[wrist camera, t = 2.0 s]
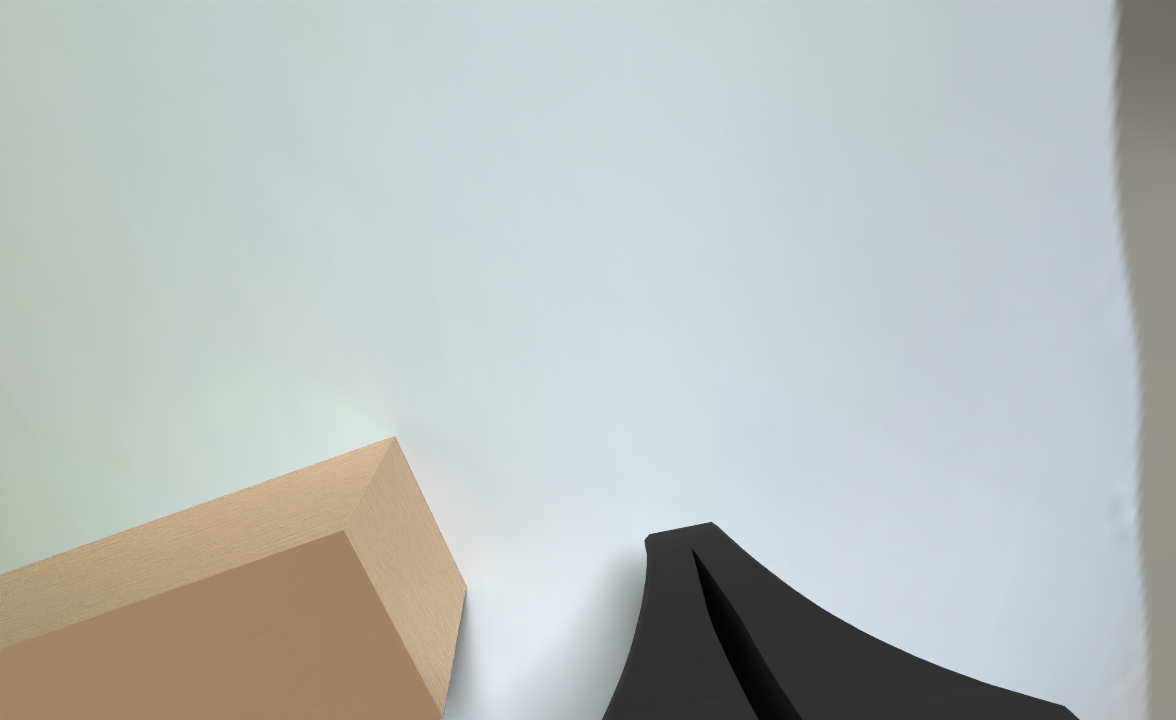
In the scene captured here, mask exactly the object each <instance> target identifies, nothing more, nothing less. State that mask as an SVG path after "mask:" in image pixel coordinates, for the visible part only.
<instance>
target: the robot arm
mask: <svg viewBox="0 0 1176 720" xmlns="http://www.w3.org/2000/svg"><path fill="white" fill-rule="evenodd" d="M645 547H646V552H647V570H646V581H645V587H644V594H643V601H642V606H641V611H640V615H639V619H638V623H637V627H636V631H635V635H634V639H633V643H632V646H631V649H630V652H629V655H628V658H627V661H626V664H625V667H624V670H623V672H622V675H621V678H620V680H619V683H618V685H617V687H616V690H615V692H614V694H613V697H612V699H611V701H610V704H609V706H608V708H607V710H606V712H605V714H604V717H603V719H602V720H1079V719H1078V718H1077V717H1076V716H1075V715H1074V714H1073V713H1072V712H1071V711H1069V710H1068V709H1067V708H1066V707H1065V706H1062V705H1059V704H1055V703H1052V702H1048V701H1045V700H1041V699H1038V698H1035V697H1031V696H1028V695H1024V694H1021V693H1017V692H1014V691H1011V690H1007V689H1004V688H1000V687H997V686H993V685H990V684H987V683H984V682H981V681H979V680H976V679H973V678H970V677H968V676H965V675H962V674H959V673H957V672H954V671H951V670H948V669H946V668H943V667H940V666H938V665H935V664H933V663H931V662H928V661H926V660H923V659H921V658H918V657H916V656H914V655H911V654H909V653H907V652H905V651H903V650H900V649H898V648H896V647H894V646H892V645H890V644H887V643H885V642H883V641H881V640H879V639H877V638H875V637H873V636H871V635H869V634H867V633H865V632H863V631H861V630H859V629H857V628H856V627H854V626H852V625H850V624H848V623H847V622H845V621H843V620H841V619H839V618H838V617H836V616H834V615H832V614H831V613H829V612H827V611H826V610H824V609H822V608H821V607H819V606H818V605H816V604H815V603H813V602H812V601H810V600H809V599H807V598H806V597H804V596H803V595H801V594H800V593H799V592H797V591H796V590H794V589H793V588H792V587H790V586H789V585H787V584H786V583H785V582H783V581H782V580H781V579H779V578H778V577H777V576H776V575H774V574H773V573H772V572H770V571H769V570H768V569H767V568H765V567H764V566H763V565H761V564H760V563H759V562H758V561H756V560H755V559H754V558H753V557H752V556H750V555H749V554H748V553H747V552H746V551H745V550H743V549H742V548H741V547H740V546H739V545H738V544H737V543H735V542H734V541H733V540H732V539H731V538H730V537H729V536H728V535H727V534H726V533H724V532H723V531H722V530H721V529H720V528H719V527H718V526H717V525H715V524H714V523H712V522H709V523H704V524H699V525H694V526H689V527H684V528H679V529H674V530H669V531H664V532H659V533H654V534H649V535H648V537H647V538H646V539H645Z"/></svg>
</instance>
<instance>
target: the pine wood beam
mask: <svg viewBox="0 0 1176 720" xmlns="http://www.w3.org/2000/svg"><path fill="white" fill-rule="evenodd" d="M465 592H466V584H465V582H464V580H463V578H462V576H461V574H460V572H459V570H458V567H457V565H456V563H455V561H454V559H453V557H452V555H451V553H450V551H449V548H448V546H447V544H446V542H445V540H444V538H443V536H442V534H441V532H440V530H439V527H438V525H437V523H436V521H435V519H434V517H433V515H432V513H431V511H430V509H429V506H428V504H427V502H426V500H425V498H424V496H423V494H422V492H421V490H420V488H419V485H418V483H417V481H416V479H415V477H414V475H413V473H412V471H411V469H410V467H409V464H408V462H407V460H406V458H405V456H404V454H403V452H402V450H401V448H400V446H399V443H398V441H397V439H396V437H395V436H394V437H391V438H388V439H385V440H382V441H379V442H377V443H374V444H371V445H368V446H365V447H362V448H359V449H357V450H354V451H351V452H348V453H345V454H342V455H340V456H337V457H334V458H331V459H328V460H325V461H322V462H320V463H317V464H314V465H311V466H308V467H305V468H303V469H300V470H297V471H294V472H291V473H288V474H285V475H283V476H280V477H277V478H274V479H271V480H268V481H266V482H263V483H260V484H257V485H254V486H251V487H248V488H246V489H243V490H240V491H237V492H234V493H231V494H229V495H226V496H223V497H220V498H217V499H214V500H212V501H209V502H206V503H203V504H200V505H197V506H194V507H192V508H189V509H186V510H183V511H180V512H177V513H175V514H172V515H169V516H166V517H163V518H160V519H157V520H155V521H152V522H149V523H146V524H143V525H140V526H138V527H135V528H132V529H129V530H126V531H123V532H120V533H118V534H115V535H112V536H109V537H106V538H103V539H101V540H98V541H95V542H92V543H89V544H86V545H83V546H81V547H78V548H75V549H72V550H69V551H66V552H64V553H61V554H58V555H55V556H52V557H49V558H46V559H44V560H41V561H38V562H35V563H32V564H29V565H27V566H24V567H21V568H18V569H15V570H12V571H9V572H7V573H4V574H1V575H0V720H439V719H442V718H443V716H444V711H445V705H446V699H447V694H448V688H449V682H450V677H451V671H452V665H453V660H454V654H455V648H456V643H457V637H458V631H459V626H460V620H461V614H462V609H463V603H464V597H465Z"/></svg>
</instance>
